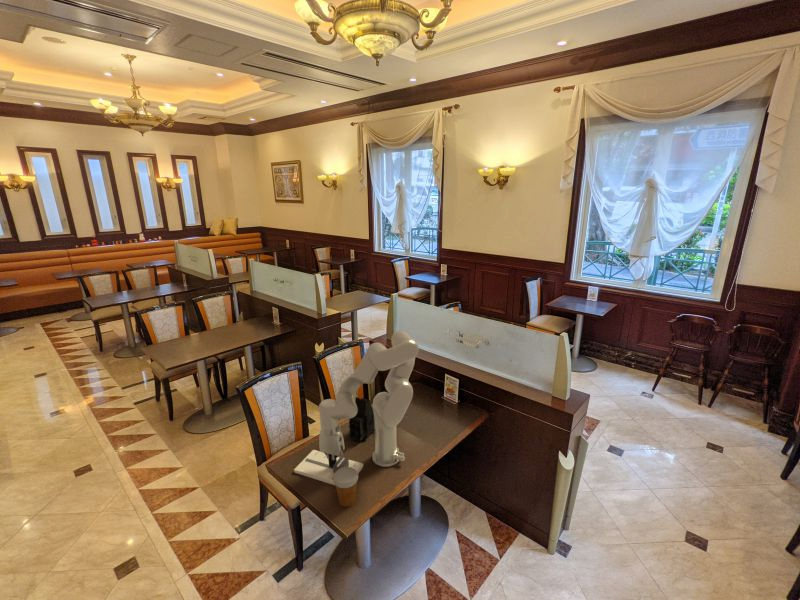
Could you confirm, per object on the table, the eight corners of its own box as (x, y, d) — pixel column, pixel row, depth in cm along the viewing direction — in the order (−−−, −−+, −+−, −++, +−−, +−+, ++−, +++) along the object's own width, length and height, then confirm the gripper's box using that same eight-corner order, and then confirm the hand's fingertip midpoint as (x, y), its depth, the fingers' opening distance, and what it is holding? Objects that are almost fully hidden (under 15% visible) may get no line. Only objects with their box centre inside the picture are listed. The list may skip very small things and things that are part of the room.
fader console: (363, 466, 162) (363, 463, 161) (347, 489, 149) (346, 485, 149) (313, 452, 171) (313, 449, 171) (294, 472, 159) (294, 469, 158)
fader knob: (349, 465, 159) (348, 458, 158) (341, 475, 154) (341, 467, 153) (340, 463, 161) (340, 456, 160) (333, 472, 155) (333, 465, 154)
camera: (345, 440, 179) (342, 404, 174) (360, 425, 191) (359, 391, 185) (362, 446, 175) (360, 409, 169) (377, 431, 186) (376, 395, 181)
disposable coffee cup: (347, 487, 150) (346, 462, 147) (364, 499, 144) (363, 473, 141) (329, 502, 143) (327, 476, 140) (346, 514, 137) (344, 488, 134)
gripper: (350, 427, 154) (352, 464, 159) (320, 419, 160) (323, 455, 165) (340, 437, 148) (343, 476, 153) (309, 429, 153) (313, 466, 158)
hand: (332, 465), depth 159 cm, fingers closed
